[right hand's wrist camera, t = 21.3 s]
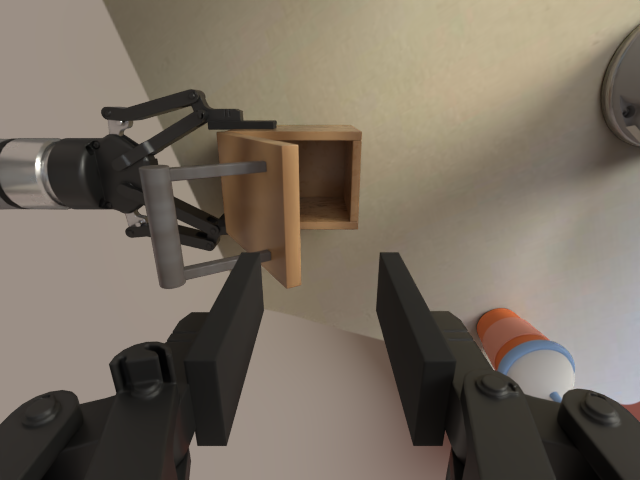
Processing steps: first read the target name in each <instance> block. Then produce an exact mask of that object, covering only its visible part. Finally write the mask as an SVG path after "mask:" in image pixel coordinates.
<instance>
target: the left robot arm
mask: <svg viewBox="0 0 640 480" xmlns="http://www.w3.org/2000/svg"><path fill="white" fill-rule="evenodd" d="M188 106H192V108H193V110H194V112H193V113H191V114H190V115H188V116H186V117H185V118H183V119H181V120H180V121H178V122H177V123H175V124H173V125H172V126H170V127H168V128H167V129H165V130H164V131H162V132H160V133H159V134H157V135H155V136H154V137H152V138H151V139H149V140H147V141H145V142H143V143H141V144H138V143H136V142H135V141H133V140H132V139H130V138H128V137H127V136H125V135H124V130H125V129H127V128H131V127H132V125H133V121H134V120H143V119H147V118H150V117H154V116H157V115H161V114H164V113H168V112H171V111H175V110H178V109H182V108H185V107H188ZM101 114H102V116H103V117H104V118H105V119H107V120H108V126H109V135H107V136H105V137H104V138H65V139H59V138H18V139H0V209H71V208H72V209H114V210H118V211H120V212H122V213H125V215H126V218H127V221H128V225H129V227H128V228H127V229H126V231H125V232H126V235H127V236H128V237H131V238H134V237H145V236H148V237H151V234H150V229H149V223H148V218H147V216H144V215H141V214H140V213H139V212H138V209H139V208H141V207H142V206H143V205H145V201H144V195H143V190H142V184H141V179H140V173H139V168H140V167H142V166H148V165H158V161H157V159H155V157H154V155H155V154H157V153H159V152H160V151H162V150H163V149H164V148H166V147H168V146H169V145H171V144H173V143H174V142H176V141H178V140H179V139H181V138H183V137H184V136H186V135H188V134H189V133H191V132H192V131H194V130H196V129H197V128H199V127H201V126H202V125H204V124H206V123H207V122H208V130H232V129H275V128H277V126H276V121H243V111H241V110H239V109H213V108H211V107H209V105H208V104H207V102H206V99H205V94H204V93H203V92H202V91H200V90H192V89H191V90H186V91H183V92H179V93H176V94H173V95H169V96H166V97H162V98H159V99H155V100H152V101H149V102H145V103H142V104H138V105H135V106H131V107H128V108H125V107H104V108H103V109H102V110H101ZM174 203H175V210H176V216H177V219H178V220H180V221H183V222H185V223H187V224H189V225H191V226H193V227H195V228H197V229H199V230H197V229H193V228H189V227H185V226H181V225H178V230H179V237H180V243H181V244H182V245H186V246H191V247H195V248H199V249H204V250H207V251H212V250H213V249H214V248H215V247H216V245H217V244H218V243H219V241H220V236H221V235H229V234H228V233H227V232H226V224H225V214H223V215H222V216H221V217H220V218H219V219H218V218H216V217H214V216H212V215H210V214H208V213H206V212H204V211H202V210H200V209H198V208H196V207H194V206H192V205H190V204H188V203H186V202H184V201H182V200H180V199H178V198H175V197H174Z"/></svg>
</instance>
